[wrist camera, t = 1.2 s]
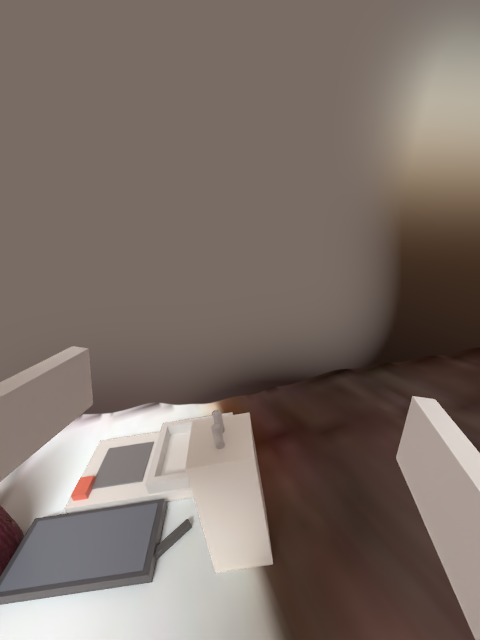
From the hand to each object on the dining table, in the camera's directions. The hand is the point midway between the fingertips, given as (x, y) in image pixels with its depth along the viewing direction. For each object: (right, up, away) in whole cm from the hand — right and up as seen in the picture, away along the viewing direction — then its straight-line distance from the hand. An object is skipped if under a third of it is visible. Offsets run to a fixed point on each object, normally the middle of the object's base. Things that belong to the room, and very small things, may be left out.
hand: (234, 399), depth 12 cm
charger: (0, -17, +16) cm, 23 cm away
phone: (-14, -19, +17) cm, 29 cm away
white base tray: (-9, -15, +25) cm, 31 cm away
